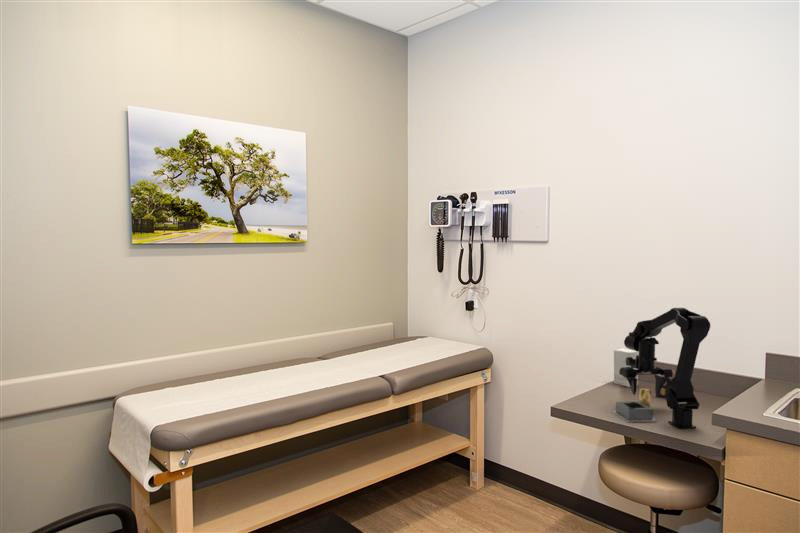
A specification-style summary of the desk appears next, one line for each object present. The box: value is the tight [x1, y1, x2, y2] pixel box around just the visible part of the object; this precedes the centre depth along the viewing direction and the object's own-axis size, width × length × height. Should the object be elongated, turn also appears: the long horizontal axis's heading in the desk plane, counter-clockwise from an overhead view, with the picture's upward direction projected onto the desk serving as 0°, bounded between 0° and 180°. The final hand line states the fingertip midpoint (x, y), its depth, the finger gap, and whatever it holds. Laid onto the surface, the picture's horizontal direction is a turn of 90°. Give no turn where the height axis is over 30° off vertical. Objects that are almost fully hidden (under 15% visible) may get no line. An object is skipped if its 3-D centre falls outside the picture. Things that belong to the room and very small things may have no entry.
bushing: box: [638, 388, 652, 408], centre depth 203 cm, size 4×4×7 cm
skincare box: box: [613, 347, 639, 388], centre depth 237 cm, size 8×7×16 cm
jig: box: [611, 401, 658, 423], centre depth 193 cm, size 11×11×4 cm
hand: (645, 394), depth 203 cm, fingers open, 9 cm apart
